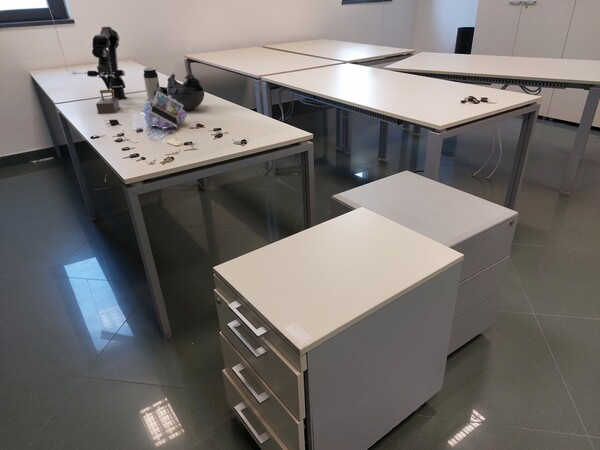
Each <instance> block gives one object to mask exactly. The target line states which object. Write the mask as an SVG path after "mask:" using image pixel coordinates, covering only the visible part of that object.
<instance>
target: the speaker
mask: <svg viewBox="0 0 600 450" xmlns="http://www.w3.org/2000/svg"><path fill="white" fill-rule="evenodd" d="M159 87H160V90H158V91H160V92H162V93H163V94H165V95H167V92H168V90H167V87H164V86H159ZM156 93H157V90H156V91H154V92H153V94H154V97H155V95H156ZM167 96H168V95H167Z"/></svg>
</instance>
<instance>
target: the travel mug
mask: <svg viewBox="0 0 600 450" xmlns="http://www.w3.org/2000/svg"><path fill="white" fill-rule="evenodd" d="M142 70H143V80H144V85H145V86H144V87H145V91H146V96H147V101H150V100H153V99H154V94H153V92H154V91H156V90H160V87H161V86H160V81H159V75H158V72H157V68H156V67H144V68H142Z"/></svg>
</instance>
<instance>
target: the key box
mask: <svg viewBox="0 0 600 450" xmlns="http://www.w3.org/2000/svg"><path fill="white" fill-rule="evenodd" d="M95 105H96V104H95ZM119 109H120V103H119V100H118V99H117V101H116V102H115V103H114V104H106V105H96V110H97V114H100V115H102V114H117V112H118V111H119Z"/></svg>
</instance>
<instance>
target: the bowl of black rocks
mask: <svg viewBox="0 0 600 450" xmlns="http://www.w3.org/2000/svg"><path fill="white" fill-rule="evenodd" d="M175 77H176V75H175V74H174V73H171V75H170V76H169V77H168V78H167V79H166V80H167V86H166V88H167V91H168V92H167V95H168V96H170V95H171V97H172V99H176V101H177V102H179V103H181V104H182V105H184V106H183V108H182V110H185V111H192V110H195V109H197V108H198V107H199V106H200V105H201V104H202V103H203V100H204V99H205V90H204V88H203V85H201V82H200V79H198V78H196V77H195V75H194V74H193V73H189V74H188V75H186V76H185V77H184V79H186V80H185V81H184V82H183V83H181V82H178V80H177V79H175Z"/></svg>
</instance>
